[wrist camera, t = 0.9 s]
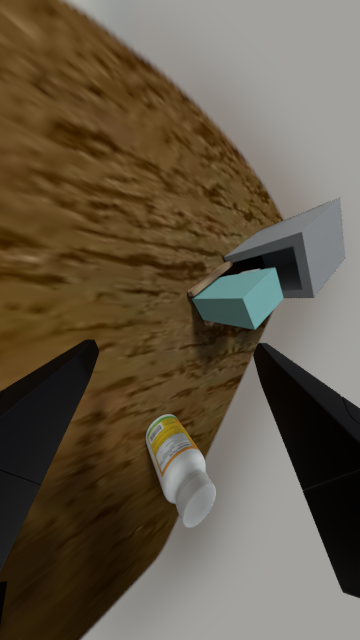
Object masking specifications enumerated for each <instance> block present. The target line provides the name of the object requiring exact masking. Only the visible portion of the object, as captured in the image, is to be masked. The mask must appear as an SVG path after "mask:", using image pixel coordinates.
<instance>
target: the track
mask: <svg viewBox="0 0 360 640" xmlns="http://www.w3.org/2000/svg"><path fill="white" fill-rule="evenodd" d="M232 265H233V263H232V261H227V262H225V263H224V264H222V265H221V266H220V267H219V268H217V269H216V270H215V271H213V272H212V273H211V274H209V275H208V276H207V277H206V278H204V279H203V280H202V281H200V282H199V283H198V284H197V285H195V286H194V287H193V288H191V289H190V290H189V291H187V293H188V295H189V296H195V295H196V294H198V293H199V292H200V291H201V290H203V289H204V288H205V287H206V286H208V285H209V284H210V283H211V282H213V281H214V280H215V279H216V278H218V277H219V276H220V275H221V274H223V273H224V272H225V271H226V270H227V269H229V268H230V267H231V266H232ZM204 323H205V325H206V326H210V327H211V326H212V325H213V324H214V323H215V322H212V321H206V320H205V321H204Z"/></svg>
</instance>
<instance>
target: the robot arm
mask: <svg viewBox="0 0 360 640" xmlns="http://www.w3.org/2000/svg"><path fill="white" fill-rule="evenodd" d="M98 355H99V349H98V347H97V344H96V342H95V340H89V339H87V340H84V341H83V342H81V343H79V344H78V345H76V346H74V347H73V348H71V349H69V350H68V351H66V352H65V353H63V354H61V355H60V356H58V357H56V358H55V359H53V360H51V361H50V362H48V363H46V364H45V365H43V366H42V367H40V368H38V369H37V370H35V371H33V372H32V373H30V374H28V375H27V376H25V377H23V378H22V379H20V380H18V381H17V382H15V383H14V384H12V385H10V386H9V387H7V388H6V389H4V390H2V391H0V571H1V569H2V567H3V565H4V563H5V561H6V559H7V556H8V554H9V552H10V550H11V548H12V546H13V544H14V541H15V539H16V537H17V535H18V533H19V531H20V529H21V526H22V524H23V522H24V520H25V518H26V516H27V514H28V511H29V509H30V507H31V505H32V503H33V501H34V499H35V497H36V494H37V492H38V490H39V488H40V486H41V483H42V481H43V479H44V477H45V475H46V473H47V471H48V468H49V466H50V464H51V462H52V460H53V458H54V456H55V453H56V451H57V449H58V447H59V445H60V443H61V441H62V438H63V436H64V434H65V432H66V430H67V428H68V426H69V423H70V421H71V419H72V417H73V415H74V413H75V411H76V408H77V406H78V404H79V402H80V400H81V398H82V396H83V393H84V391H85V389H86V387H87V385H88V383H89V380H90V378H91V375H92V372H93V369H94V367H95V364H96V361H97V358H98ZM253 357H254V361H255V364H256V368H257V372H258V375H259V379H260V382H261V385H262V388H263V391H264V393H265V396H266V398H267V401H268V403H269V406H270V409H271V411H272V413H273V416H274V418H275V421H276V424H277V426H278V429H279V431H280V434H281V437H282V439H283V442H284V444H285V447H286V449H287V452H288V454H289V457H290V460H291V462H292V465H293V467H294V470H295V472H296V475H297V477H298V480H299V482H300V485H301V487H302V490H303V493H304V496H305V498H306V500H307V503H308V506H309V508H310V511H311V513H312V516H313V519H314V521H315V524H316V526H317V528H318V531H319V534H320V537H321V539H322V542H323V544H324V547H325V549H326V552H327V554H328V557H329V559H330V562H331V565H332V567H333V570H334V572H335V574H336V577H337V580H338V582H339V585H340V587H341V589H342V591H343V593H346V594H349V595H352V596H355V597H357V598H360V408H358V407H357V406H356V405H354V404H353V403H351V402H350V401H348V400H347V399H346V398H344V397H341V396H340V394H338V393H337V392H335V391H334V390H333V389H331V388H330V387H328V386H327V385H325V384H324V383H323V382H321V381H320V380H318V379H317V378H315V377H314V376H313V375H311V374H310V373H308V372H307V371H305V370H304V369H303V368H301V367H300V366H298V365H297V364H295V363H294V362H293V361H291V360H290V359H288V358H287V357H286V356H284V355H283V354H281V353H280V352H278V351H277V350H276V349H274V348H273V347H271V346H270V345H268V344H267V343H258V344H257V346H256V349H255V351H254V354H253ZM6 586H7V581H4V582H0V624H1V618H2V611H3V605H4V599H5V593H6Z"/></svg>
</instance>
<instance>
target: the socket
mask: <svg viewBox="0 0 360 640" xmlns="http://www.w3.org/2000/svg"><path fill="white" fill-rule="evenodd" d="M259 255H262V259H263V262H264V265H265V269H269V268H274V267H275V269H276V272H277V276H278V279H279V283H280V287H281V290H282V294H283V297H284V298H314V297H315V296H316V295H317V294H318V292H319V291H320V290H321V288H322V287H323V286H324V284H325V283H326V282H327V281H328V280H329V278H330V277H331V276H332V274H333V273H334V272H335V271H336V269H337V268H338V267H339V265H340V264H341V263H342V262H343V260H344V259H345V252H344V240H343V228H342V215H341V203H340V198H337V199H335V200H332V201H329V202H327V203H324V204H322V205H320V206H317V207H315V208H312V209H310V210H308V211H305V212H303V213H301V214H298V215H296V216H293V217H292V218H289V219H286V220H284V221H282V222H279V223H277V224H274V225H272V226H270V227H267V228H265V229H263V230H260V231H258V232H257V233H256V234H254V235H253V236H252V237H250V238H249V239H248V240H246V241H245V242H244V243H242V244H241V245H240V246H238V247H237V248H236V249H234V250H233V251H232V252H230V253H229V254H228V255H226V256H225V257H224V259H225V262H227V261H232V263H233V262H237V261H240V260H244V259H248V258H251V257H255V256H259Z"/></svg>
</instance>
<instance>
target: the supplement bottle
mask: <svg viewBox="0 0 360 640" xmlns="http://www.w3.org/2000/svg"><path fill="white" fill-rule="evenodd" d="M146 444H147V447H148V450H149V453H150V456H151V459H152V462H153V465H154V467H155V470H156V473H157V476H158V479H159V482H160V485H161V487H162V490H163V493H164V495H165V497H166V499H167V500H168V501H169V502H171V503H174V504H176V506H177V511H178V513H179V515H180V517H181V520H182V522H183V524H184V526H185V527H188V528H191V527H194V526H196V525H197V524H199V523H200V522H201V521H202V520H203V519H204V518H205V517H206V515H207V514H208V513H209V511H210V509H211V507H212V505H213V503H214V500H215V496H216V489H215V487H214V485H213V483H212V482H211V480H210V478H209V477H208V475H207V474H206V473H205V460H204V457H203V456H202V454H201V452H200V451H199V449H198V448H197V446H196V445H195V444H194V442H193V441H192V439H191V438H190V436H189V435H188V433H187V432H186V430H185V429H184V427H183V426H182V425H181V423H180V422H179V420H178V419H177V418H176V417H175V416H174V415H171V414H166V415H162V416H160V417H159V418H157V419H156V420H155V421H154V422H153V423H152V424H151V425H150V426H149V428H148V430H147V433H146Z"/></svg>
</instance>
